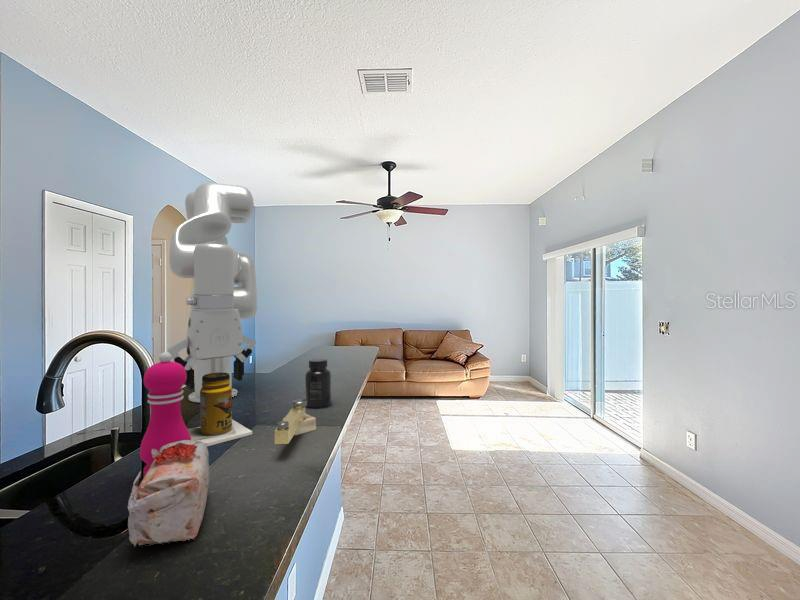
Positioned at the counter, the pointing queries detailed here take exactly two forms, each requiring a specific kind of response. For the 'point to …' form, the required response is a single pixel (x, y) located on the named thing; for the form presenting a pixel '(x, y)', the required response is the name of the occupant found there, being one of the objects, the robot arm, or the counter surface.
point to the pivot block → (306, 425)
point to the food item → (170, 494)
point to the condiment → (214, 407)
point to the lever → (290, 422)
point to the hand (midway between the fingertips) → (215, 383)
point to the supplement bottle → (318, 384)
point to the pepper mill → (164, 407)
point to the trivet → (240, 432)
